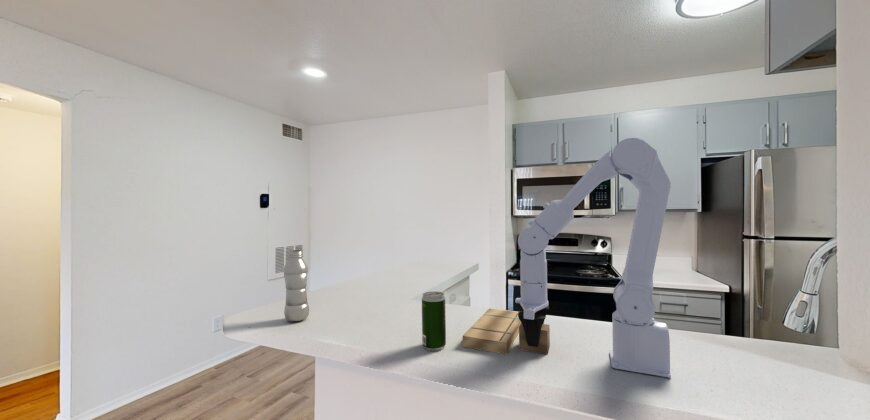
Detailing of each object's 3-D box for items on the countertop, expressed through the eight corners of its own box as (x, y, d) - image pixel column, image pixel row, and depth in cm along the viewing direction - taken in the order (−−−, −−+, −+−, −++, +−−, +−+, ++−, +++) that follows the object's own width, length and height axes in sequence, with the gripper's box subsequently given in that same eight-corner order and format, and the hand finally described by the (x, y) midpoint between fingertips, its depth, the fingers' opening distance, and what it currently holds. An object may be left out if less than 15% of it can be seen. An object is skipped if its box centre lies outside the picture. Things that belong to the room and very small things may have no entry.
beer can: (430, 353, 72) (429, 298, 72) (418, 345, 76) (417, 293, 76) (450, 347, 75) (449, 294, 74) (437, 340, 79) (436, 290, 79)
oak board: (524, 321, 91) (524, 312, 91) (506, 354, 71) (506, 342, 71) (489, 317, 95) (489, 308, 95) (462, 346, 75) (462, 335, 75)
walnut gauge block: (549, 346, 74) (549, 324, 74) (547, 354, 71) (547, 330, 71) (522, 342, 77) (522, 321, 77) (519, 349, 73) (518, 326, 73)
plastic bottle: (304, 324, 92) (302, 252, 91) (279, 324, 92) (278, 252, 92) (313, 316, 98) (311, 249, 98) (290, 316, 98) (289, 249, 98)
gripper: (521, 273, 82) (522, 328, 82) (508, 286, 69) (509, 351, 69) (551, 275, 79) (552, 332, 79) (543, 289, 66) (544, 357, 66)
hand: (534, 341), depth 74 cm, fingers closed on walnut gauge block, 4 cm apart
